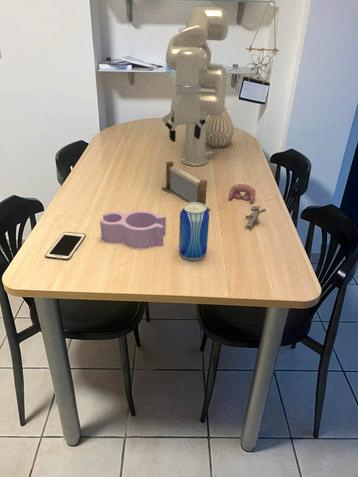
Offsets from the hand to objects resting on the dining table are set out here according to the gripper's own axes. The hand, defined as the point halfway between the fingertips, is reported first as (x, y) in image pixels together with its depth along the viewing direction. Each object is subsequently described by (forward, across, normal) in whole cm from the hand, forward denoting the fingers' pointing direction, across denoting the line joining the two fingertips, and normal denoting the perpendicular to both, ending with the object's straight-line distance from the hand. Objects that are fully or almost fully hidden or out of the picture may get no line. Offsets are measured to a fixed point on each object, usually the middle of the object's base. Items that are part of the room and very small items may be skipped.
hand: (184, 139), depth 143 cm
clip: (+23, +28, +23) cm, 43 cm away
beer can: (+23, +15, +38) cm, 47 cm away
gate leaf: (+21, +1, +4) cm, 21 cm away
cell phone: (+23, +49, +20) cm, 58 cm away
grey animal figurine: (+23, -13, +30) cm, 40 cm away
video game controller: (+23, -20, +12) cm, 32 cm away
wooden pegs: (+22, +1, +4) cm, 23 cm away
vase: (+22, -43, -49) cm, 69 cm away
